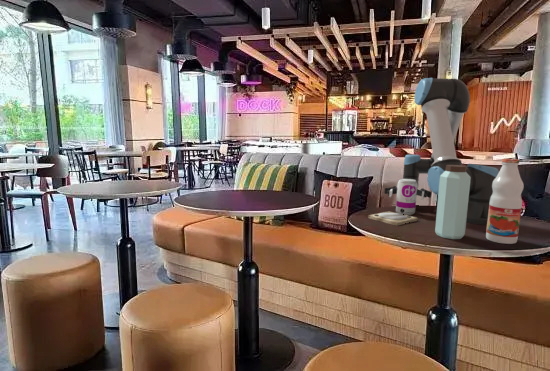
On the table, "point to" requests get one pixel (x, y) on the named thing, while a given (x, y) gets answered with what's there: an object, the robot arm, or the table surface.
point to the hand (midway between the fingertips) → (406, 195)
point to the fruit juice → (505, 204)
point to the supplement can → (406, 196)
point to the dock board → (392, 218)
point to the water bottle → (452, 202)
